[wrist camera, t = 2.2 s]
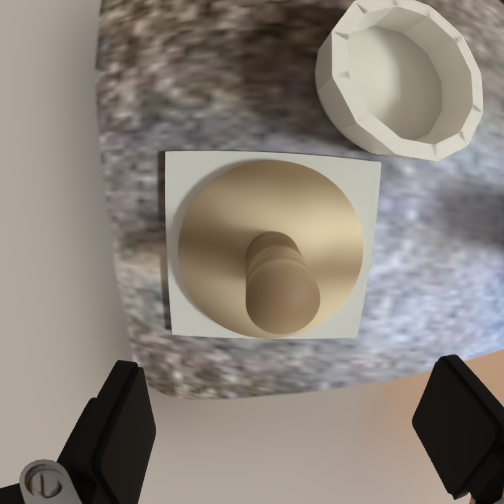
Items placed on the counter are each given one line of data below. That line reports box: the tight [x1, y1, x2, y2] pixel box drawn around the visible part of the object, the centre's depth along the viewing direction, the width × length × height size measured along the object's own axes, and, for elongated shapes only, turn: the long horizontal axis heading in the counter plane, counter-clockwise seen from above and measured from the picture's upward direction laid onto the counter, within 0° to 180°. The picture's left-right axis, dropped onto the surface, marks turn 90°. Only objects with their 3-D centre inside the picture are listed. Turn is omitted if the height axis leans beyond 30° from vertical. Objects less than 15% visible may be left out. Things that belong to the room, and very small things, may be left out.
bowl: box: [314, 0, 483, 161], centre depth 17 cm, size 11×11×5 cm
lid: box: [178, 160, 363, 339], centre depth 19 cm, size 13×13×8 cm
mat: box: [165, 151, 381, 339], centre depth 23 cm, size 14×15×1 cm
